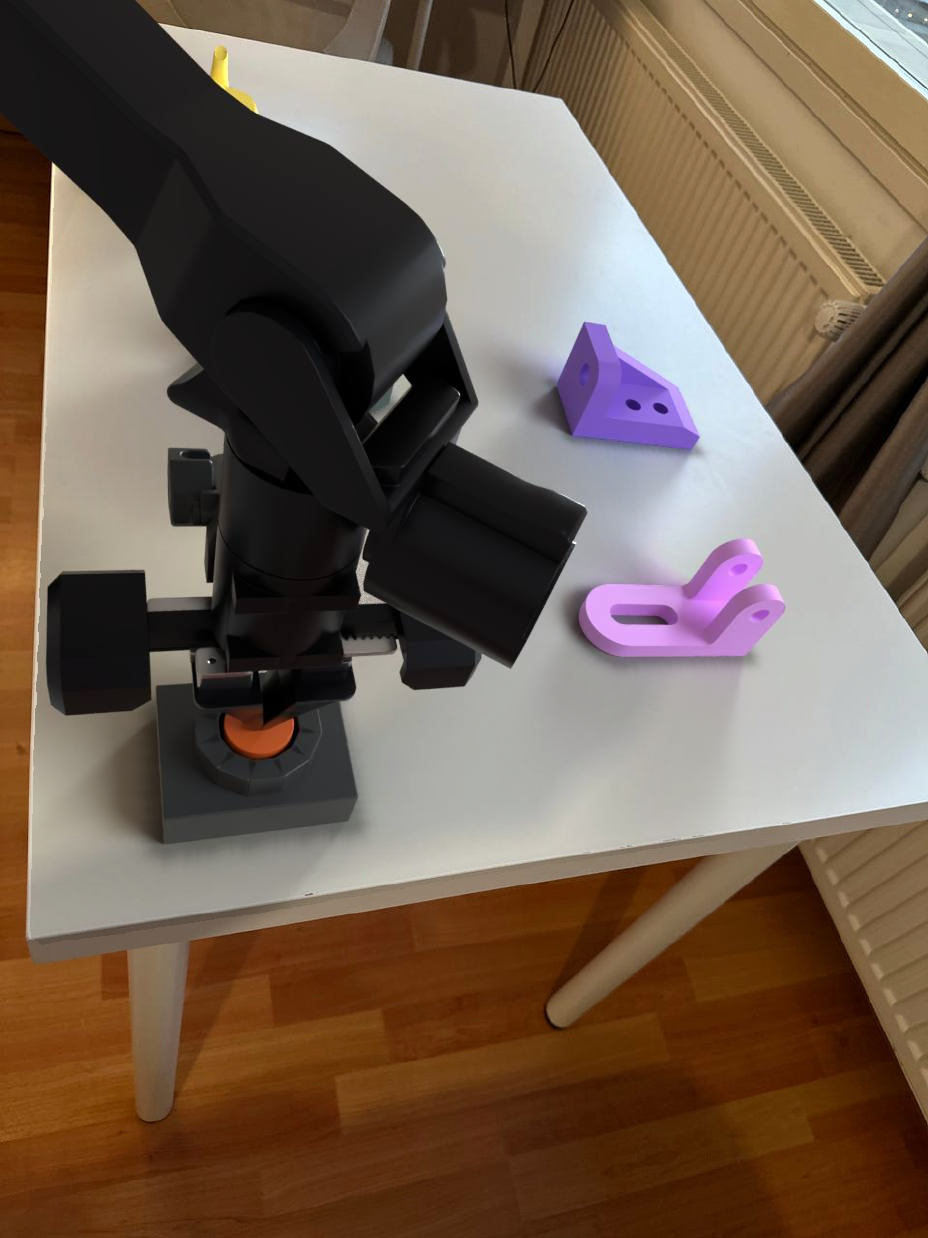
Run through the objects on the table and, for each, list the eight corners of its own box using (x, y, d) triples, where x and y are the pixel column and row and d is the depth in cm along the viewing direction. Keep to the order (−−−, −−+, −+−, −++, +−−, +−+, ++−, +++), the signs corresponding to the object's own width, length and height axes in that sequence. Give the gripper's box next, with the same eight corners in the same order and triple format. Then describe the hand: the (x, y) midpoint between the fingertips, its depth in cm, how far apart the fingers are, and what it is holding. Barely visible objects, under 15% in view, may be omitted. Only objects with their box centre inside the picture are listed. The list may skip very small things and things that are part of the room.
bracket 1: (572, 435, 77) (602, 372, 72) (556, 384, 81) (584, 321, 76) (692, 449, 80) (729, 390, 75) (671, 399, 84) (705, 340, 79)
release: (163, 845, 46) (164, 804, 42) (155, 714, 51) (155, 666, 47) (349, 821, 50) (364, 782, 46) (326, 701, 54) (339, 656, 50)
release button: (225, 772, 46) (227, 756, 45) (219, 713, 48) (221, 696, 47) (294, 765, 47) (298, 749, 46) (285, 707, 49) (289, 691, 48)
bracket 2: (719, 597, 69) (765, 539, 64) (744, 656, 66) (795, 600, 61) (570, 594, 65) (606, 532, 60) (590, 657, 62) (630, 597, 57)
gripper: (465, 398, 42) (397, 596, 54) (35, 375, 35) (66, 607, 47) (530, 579, 36) (438, 757, 48) (27, 593, 29) (65, 795, 41)
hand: (258, 722), depth 46 cm, fingers closed, pressing on release button
